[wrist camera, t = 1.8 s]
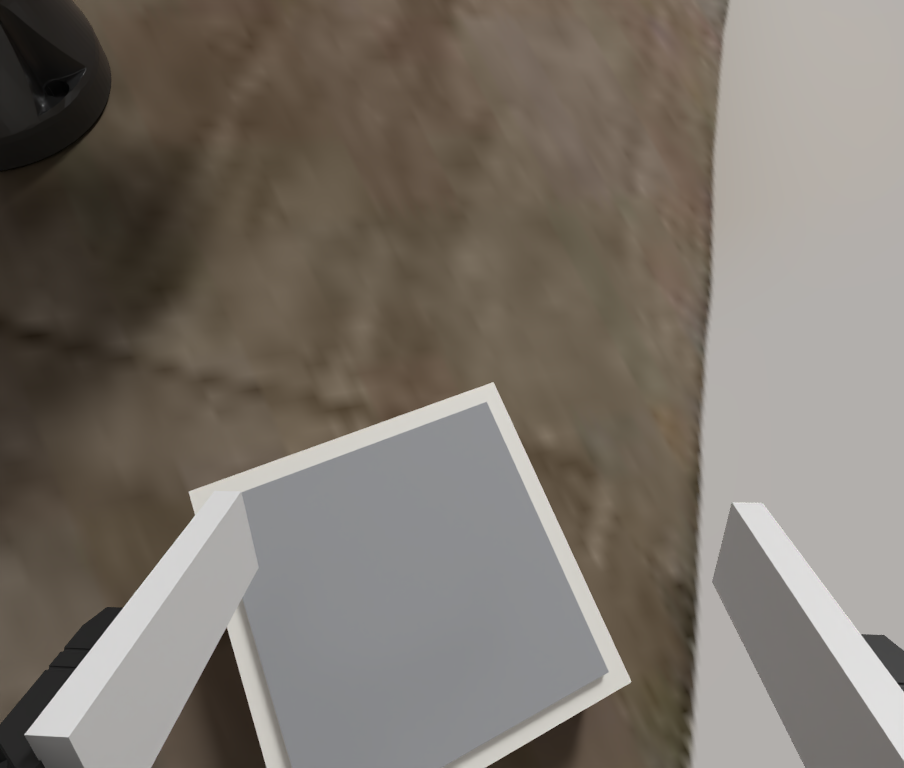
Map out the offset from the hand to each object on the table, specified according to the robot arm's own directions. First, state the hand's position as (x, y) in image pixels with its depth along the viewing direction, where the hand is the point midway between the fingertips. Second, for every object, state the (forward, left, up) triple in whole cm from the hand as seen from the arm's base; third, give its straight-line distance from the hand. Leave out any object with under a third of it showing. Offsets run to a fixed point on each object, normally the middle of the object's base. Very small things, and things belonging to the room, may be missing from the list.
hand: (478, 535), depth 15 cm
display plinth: (+1, -1, -16) cm, 16 cm away
